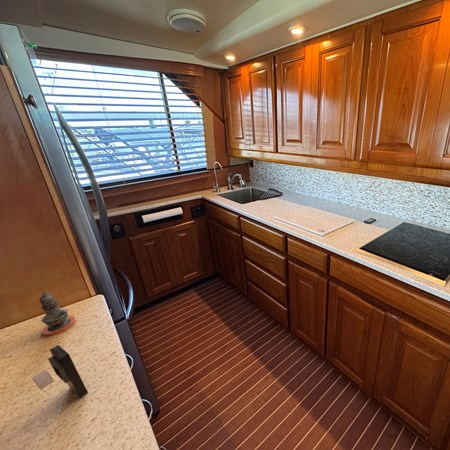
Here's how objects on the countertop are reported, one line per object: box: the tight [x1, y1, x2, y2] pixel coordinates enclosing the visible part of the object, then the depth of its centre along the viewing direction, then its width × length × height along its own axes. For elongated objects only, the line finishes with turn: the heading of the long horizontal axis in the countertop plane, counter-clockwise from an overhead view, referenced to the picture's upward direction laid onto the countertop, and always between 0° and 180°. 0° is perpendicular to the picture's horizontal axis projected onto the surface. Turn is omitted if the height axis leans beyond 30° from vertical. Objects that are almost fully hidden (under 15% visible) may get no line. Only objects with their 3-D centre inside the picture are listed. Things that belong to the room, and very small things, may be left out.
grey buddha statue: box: [38, 291, 71, 331], centre depth 71 cm, size 6×6×12 cm
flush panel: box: [47, 344, 89, 399], centre depth 52 cm, size 2×5×12 cm, turn 62°
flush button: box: [31, 369, 54, 391], centre depth 49 cm, size 2×3×3 cm, turn 62°
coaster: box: [41, 315, 78, 337], centre depth 73 cm, size 8×8×1 cm
